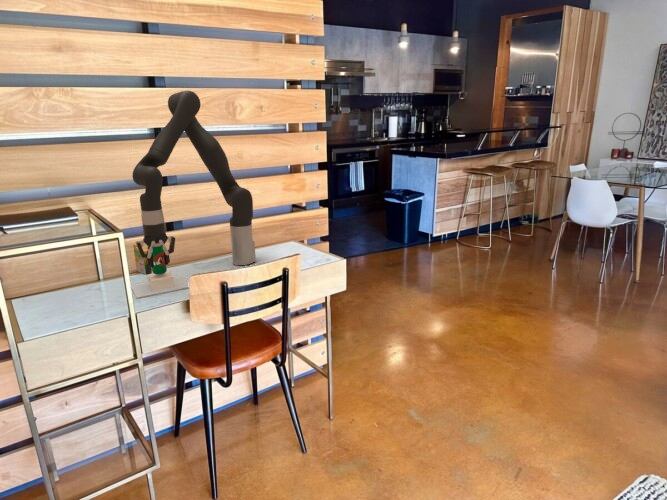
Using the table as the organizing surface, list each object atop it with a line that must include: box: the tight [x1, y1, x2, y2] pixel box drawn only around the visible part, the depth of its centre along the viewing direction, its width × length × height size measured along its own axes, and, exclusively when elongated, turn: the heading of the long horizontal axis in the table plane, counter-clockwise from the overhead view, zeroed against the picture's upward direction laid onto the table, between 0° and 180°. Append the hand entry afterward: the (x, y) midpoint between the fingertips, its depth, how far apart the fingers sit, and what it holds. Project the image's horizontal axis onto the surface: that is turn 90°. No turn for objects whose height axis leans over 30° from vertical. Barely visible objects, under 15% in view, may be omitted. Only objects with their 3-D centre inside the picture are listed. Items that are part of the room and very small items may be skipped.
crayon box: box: [132, 244, 153, 276], centre depth 191 cm, size 7×3×12 cm, turn 50°
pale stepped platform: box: [131, 270, 189, 300], centre depth 175 cm, size 20×14×5 cm
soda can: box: [151, 243, 168, 275], centre depth 172 cm, size 5×5×12 cm
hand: (159, 265), depth 173 cm, fingers closed on soda can, 5 cm apart
